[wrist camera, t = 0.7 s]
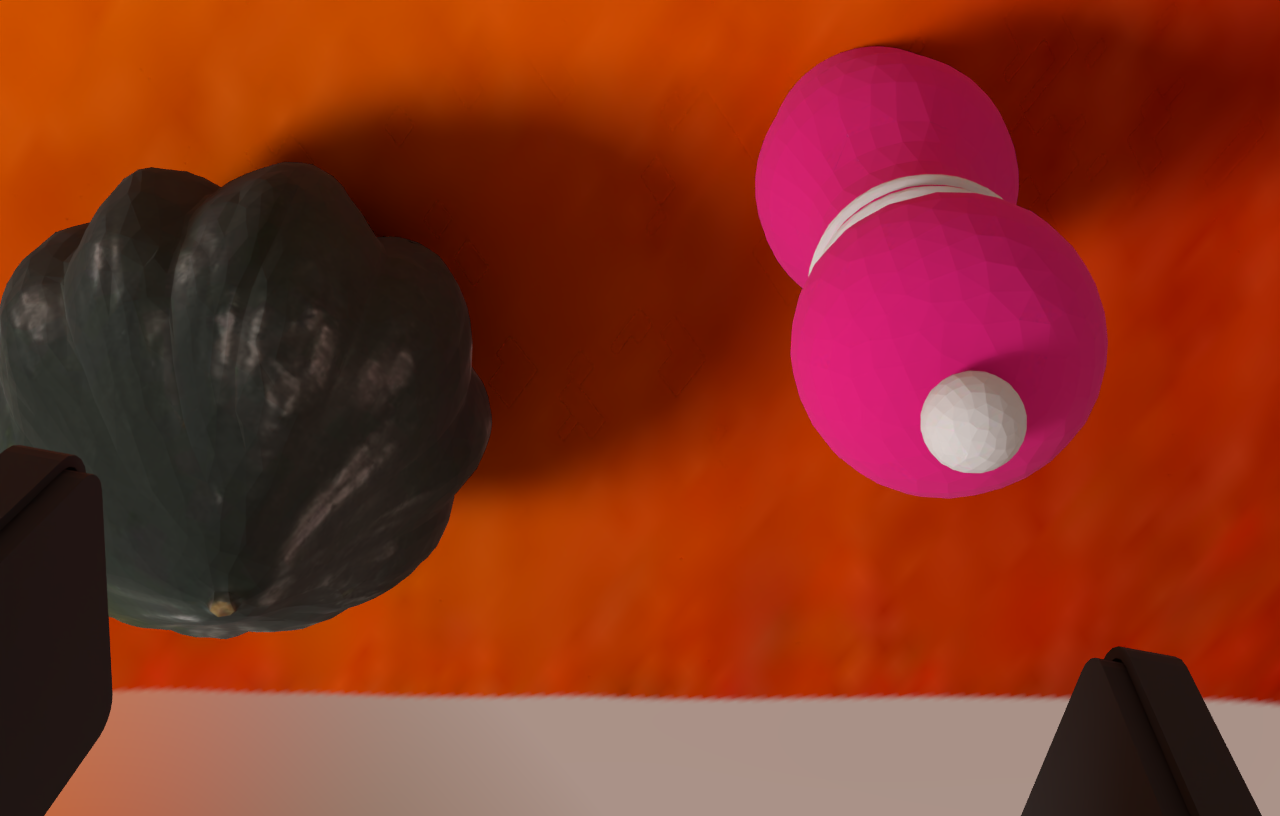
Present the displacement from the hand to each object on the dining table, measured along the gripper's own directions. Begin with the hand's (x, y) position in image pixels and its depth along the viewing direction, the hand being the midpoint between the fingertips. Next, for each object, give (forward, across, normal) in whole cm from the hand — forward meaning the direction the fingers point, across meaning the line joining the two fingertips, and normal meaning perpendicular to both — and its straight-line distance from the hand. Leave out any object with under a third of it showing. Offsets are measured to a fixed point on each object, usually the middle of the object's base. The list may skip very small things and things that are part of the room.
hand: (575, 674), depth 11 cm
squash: (+29, +12, +11) cm, 33 cm away
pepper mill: (+29, -6, +1) cm, 30 cm away
